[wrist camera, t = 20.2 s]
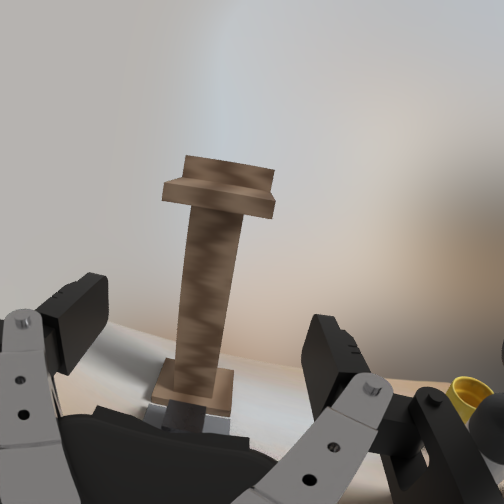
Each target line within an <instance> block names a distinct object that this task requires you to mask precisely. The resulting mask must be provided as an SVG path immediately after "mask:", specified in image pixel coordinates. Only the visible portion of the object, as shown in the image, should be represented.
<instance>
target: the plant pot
mask: <svg viewBox="0 0 504 504" xmlns="http://www.w3.org/2000/svg"><path fill="white" fill-rule="evenodd" d="M492 394H494V393H493V391H492V390H491V389H490V388H489V387H488V386H487V385H485V384H484V383H482V382H480V381H479V380H476V379H474V378H470V377H458V378H456V379H454V380H453V382H452V383H451V385H450V387H449V389H448V390H447V392H446V395H447V396H448V398H449V399H450V401H451V402H452V404H453V406H454V407H455V409H456V411H457V412H458V414H459V416H460V417H461V419H462V421H463V422H464V424H466V423H467V421H468V420H469V418H470V417H471V415H472V414H473V413H474V411H475V410H476V408H477V407H478V405H479V404H480V403H481V402H482V401H483V400H484V399H485V398H486V397H488V396H489V395H492Z"/></svg>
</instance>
